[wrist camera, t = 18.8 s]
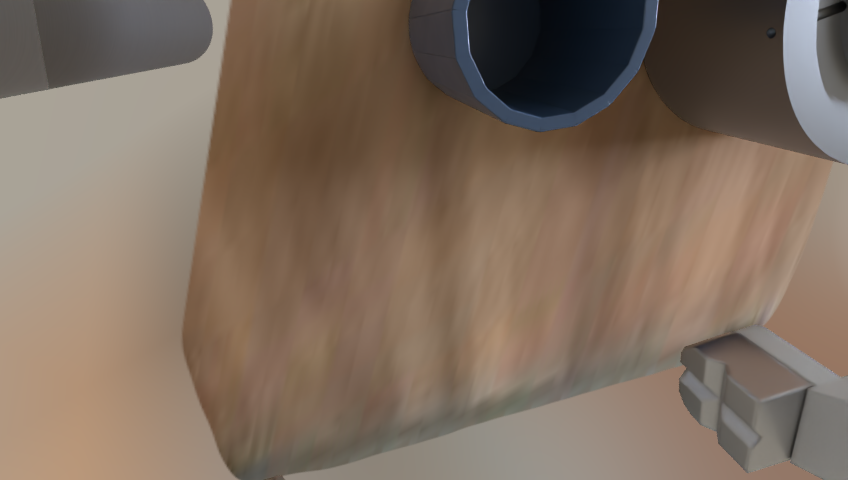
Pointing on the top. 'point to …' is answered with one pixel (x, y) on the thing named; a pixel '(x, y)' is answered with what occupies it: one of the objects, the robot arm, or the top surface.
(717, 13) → the container
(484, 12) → the tin
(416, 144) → the top surface
